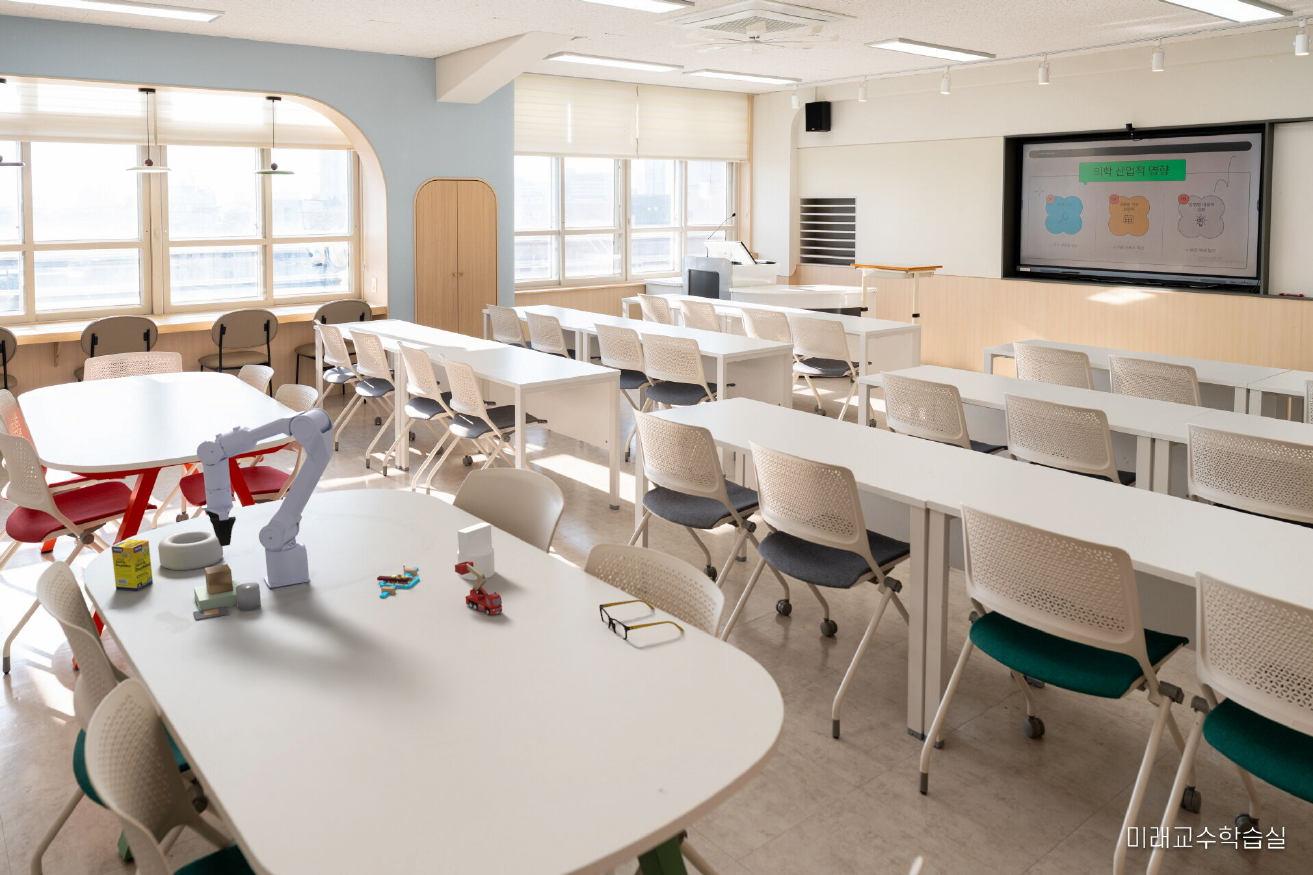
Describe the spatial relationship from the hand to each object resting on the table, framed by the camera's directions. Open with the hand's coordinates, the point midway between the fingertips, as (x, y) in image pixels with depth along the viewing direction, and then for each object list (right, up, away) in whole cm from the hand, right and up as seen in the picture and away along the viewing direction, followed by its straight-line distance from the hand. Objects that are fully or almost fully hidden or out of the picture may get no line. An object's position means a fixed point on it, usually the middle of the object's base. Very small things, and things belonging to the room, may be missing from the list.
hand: (223, 541), depth 253 cm
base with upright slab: (+61, -9, +6) cm, 62 cm away
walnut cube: (+4, -10, -11) cm, 16 cm away
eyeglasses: (+102, -16, -26) cm, 106 cm away
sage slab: (+4, -13, -11) cm, 18 cm away
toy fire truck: (+65, -14, -16) cm, 69 cm away
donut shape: (-15, -7, +16) cm, 22 cm away
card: (+5, -14, -19) cm, 25 cm away
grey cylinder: (+12, -14, -16) cm, 24 cm away
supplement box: (-20, -11, -2) cm, 23 cm away
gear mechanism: (+42, -11, 0) cm, 44 cm away
